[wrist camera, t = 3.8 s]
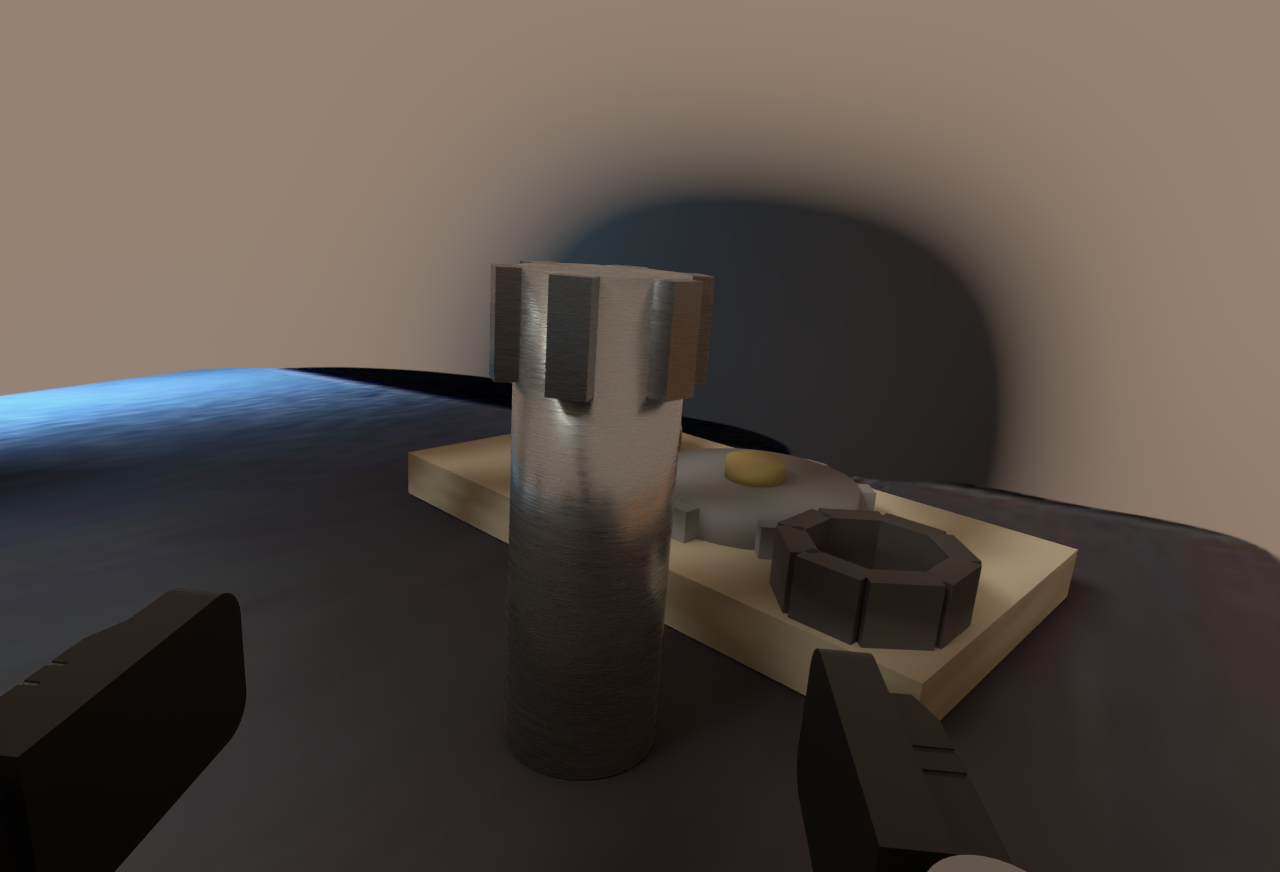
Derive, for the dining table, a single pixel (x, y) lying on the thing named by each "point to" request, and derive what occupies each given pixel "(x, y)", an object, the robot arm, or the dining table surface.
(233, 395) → the dining table surface
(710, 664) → the dining table surface
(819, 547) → the gear board
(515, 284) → the pinion shaft
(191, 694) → the robot arm
